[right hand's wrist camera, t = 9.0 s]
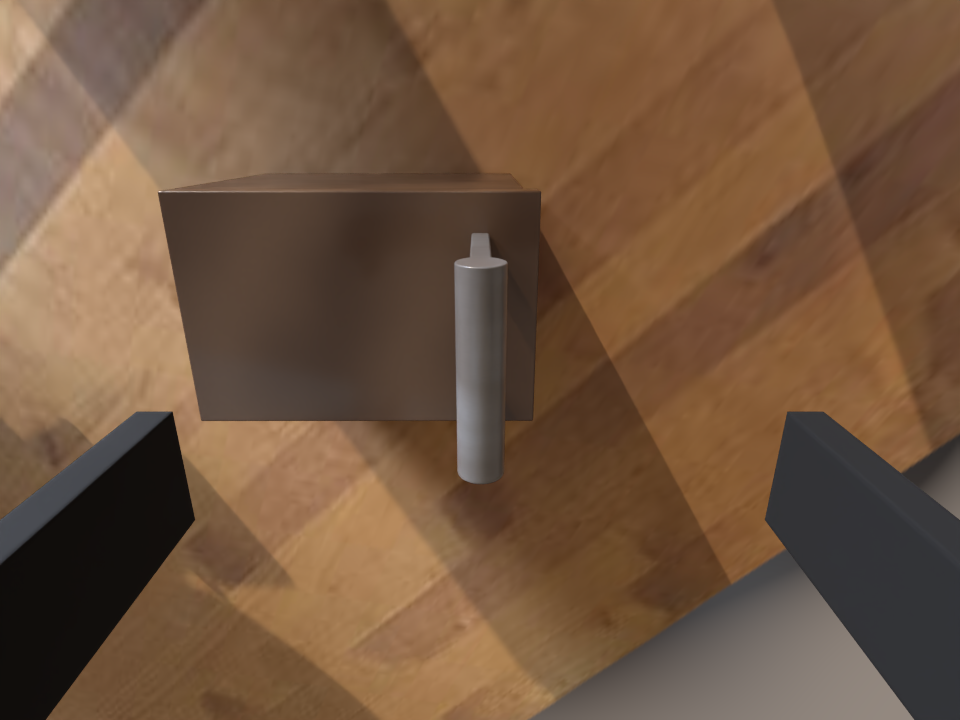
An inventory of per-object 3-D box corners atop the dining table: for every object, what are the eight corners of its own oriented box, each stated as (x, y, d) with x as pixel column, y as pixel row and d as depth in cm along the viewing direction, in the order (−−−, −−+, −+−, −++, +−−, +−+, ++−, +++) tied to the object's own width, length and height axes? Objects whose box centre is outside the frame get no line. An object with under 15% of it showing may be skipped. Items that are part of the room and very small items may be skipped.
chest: (511, 173, 33) (525, 188, 23) (508, 335, 37) (519, 409, 27) (264, 173, 33) (171, 188, 23) (285, 335, 37) (212, 409, 27)
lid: (538, 188, 23) (568, 214, 15) (530, 410, 26) (552, 522, 19) (171, 188, 23) (15, 214, 15) (211, 410, 26) (100, 522, 19)
